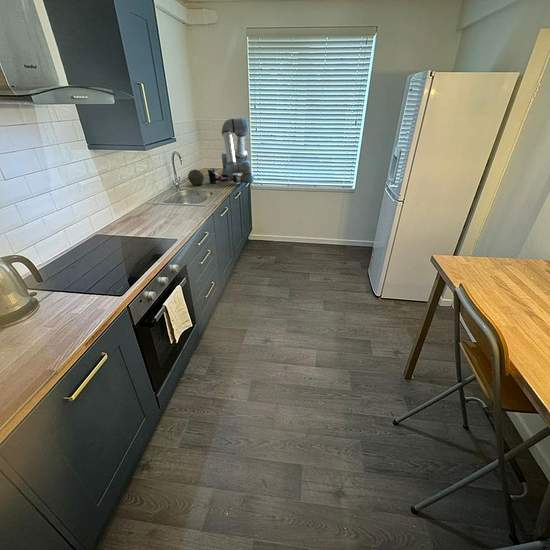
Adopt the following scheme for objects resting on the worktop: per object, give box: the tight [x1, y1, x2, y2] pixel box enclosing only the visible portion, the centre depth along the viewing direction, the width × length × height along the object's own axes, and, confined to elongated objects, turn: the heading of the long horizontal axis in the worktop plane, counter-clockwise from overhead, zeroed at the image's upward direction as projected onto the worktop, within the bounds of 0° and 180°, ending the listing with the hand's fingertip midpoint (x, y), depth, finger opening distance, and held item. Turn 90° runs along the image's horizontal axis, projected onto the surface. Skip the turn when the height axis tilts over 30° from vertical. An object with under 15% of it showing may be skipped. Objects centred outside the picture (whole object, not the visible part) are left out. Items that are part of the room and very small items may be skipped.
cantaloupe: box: [187, 169, 205, 187], centre depth 275 cm, size 14×14×15 cm
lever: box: [210, 168, 223, 178], centre depth 279 cm, size 13×4×4 cm, turn 73°
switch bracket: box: [205, 168, 221, 185], centre depth 281 cm, size 11×9×13 cm
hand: (217, 177), depth 280 cm, fingers open, 13 cm apart
